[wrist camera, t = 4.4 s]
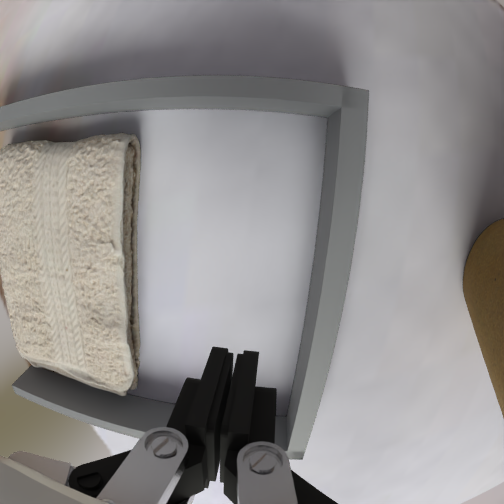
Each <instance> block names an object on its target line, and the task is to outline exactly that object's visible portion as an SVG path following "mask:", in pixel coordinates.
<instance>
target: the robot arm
mask: <svg viewBox="0 0 504 504" xmlns="http://www.w3.org/2000/svg"><path fill="white" fill-rule="evenodd" d="M258 356H259V352H255V351H245V350H244V353H243V354H237V359H236V363H235V368H234V372H233V377H232V371H233V353H229V352H228V348H220V347H212V350H211V353H210V355H209V358H208V361H207V364H206V367H205V369H204V372H203V375H202V378H201V380H200V379H193V378H187V379H186V381H185V383H184V385H183V387H182V390H181V392H180V395H179V397H178V399H177V402H176V404H175V407H174V409H173V411H172V414H171V416H170V419H169V421H168V423H167V426H166V427H158V428H153V429H151V430H149V431H147V432H146V433H145V434H144V435H143V436H142V437H141V438H140V439H139V441H138V442H137V444H136V445H135V446H134V448H133V449H132V450H129V451H126V452H123V453H120V454H117V455H114V456H110V457H107V458H104V459H101V460H97V461H93V462H90V463H86V464H83V465H80V466H78V467H74V466H72V464H71V463H67V462H63V461H58V460H54V459H50V458H46V457H42V456H39V455H35V454H32V453H28V452H23V451H18V452H14V453H13V454H11V455H10V456H9V458H6V457H3V456H0V504H192V502H193V500H194V496H195V494H197V493H199V492H201V491H203V490H204V488H208V486H209V481H216V477H217V472H218V467H219V463H220V482H223V483H224V494H225V495H226V496H227V497H228V498H229V499H230V500H231V501H232V502H233V503H234V504H338V503H336V502H335V501H333V500H332V499H330V498H329V497H327V496H326V495H325V494H323V493H322V492H320V491H319V490H318V489H316V488H315V487H313V486H312V485H311V484H309V483H308V482H307V481H305V480H304V479H303V478H301V477H300V476H299V475H297V474H296V473H295V472H293V471H292V470H291V468H290V463H289V458H288V456H287V453H286V452H285V451H284V450H283V449H282V448H281V447H279V446H278V445H276V444H275V420H276V388H265V387H255V385H256V375H257V366H258Z"/></svg>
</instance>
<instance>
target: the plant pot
mask: <svg viewBox="0 0 504 504" xmlns="http://www.w3.org/2000/svg"><path fill="white" fill-rule="evenodd" d="M463 292H464V297H465V301H466V304H467V307H468V311H469V314H470V317H471V320H472V323H473V327H474V330H475V333H476V336H477V339H478V342H479V345H480V348H481V351H482V354H483V358H484V360H485V363H486V366H487V369H488V372H489V375H490V379H491V381H492V384H493V387H494V390H495V393H496V396H497V399H498V402H499V405H500V408H501V411H502V414H503V417H504V219H501V220H498V221H496V222H494V223H493V224H491V225H490V226H488V227H487V228H486V229H485V230H484V231H483V232H482V233H481V235H480V236H479V237H478V239H477V240H476V242H475V243H474V245H473V247H472V249H471V251H470V253H469V256H468V259H467V261H466V265H465V269H464V276H463Z"/></svg>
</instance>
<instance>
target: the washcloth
mask: <svg viewBox="0 0 504 504" xmlns="http://www.w3.org/2000/svg"><path fill="white" fill-rule="evenodd" d="M140 168H141V150H140V144H139V140H138V139H137V137H136V135H135V134H130V135H128V134H125V133H118V134H109V135H103V134H101V135H99V136H96V135H95V136H92V137H89V138H86V139H80V140H78V141H77V142H57V143H54V142H52V141H47V140H41V141H26V142H22V143H14V144H8V145H7V146H4V147H3V148H2V149H1V151H0V267H1V271H0V273H1V277H2V280H3V283H2V286H3V288H4V295H5V297H6V300H7V308H8V312H9V317H10V319H11V321H10V323H11V328H12V332H13V336H14V339H15V341H16V347H17V349H18V351H19V353H20V355H21V356H22V357H23V358H25V359H27V360H28V361H29V362H30V364H32V365H33V366H34V367H37V368H38V367H44V368H46V369H49V370H53V371H55V372H58V373H60V374H62V375H64V376H67V377H70V378H72V379H75V380H77V381H80V382H82V383H85V384H87V385H89V386H92V387H95V388H98V389H102V390H105V391H109V392H113V393H116V394H118V395H120V396H126V394H127V391H128V389H130V390H134V389H136V388H137V385H138V383H137V381H138V378H137V374H138V372H137V370H138V368H139V364H140V361H139V359H138V357H139V355H140V354H139V348H140V335H139V314H138V279H137V215H138V211H137V210H138V200H139V183H140Z"/></svg>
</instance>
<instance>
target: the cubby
mask: <svg viewBox="0 0 504 504" xmlns="http://www.w3.org/2000/svg"><path fill="white" fill-rule="evenodd" d="M368 101H369V90H364V89H359V88H353V87H348V86H342V85H335V84H329V83H322V82H314V81H306V80H297V79H287V78H275V77H260V76H236V75H193V76H170V77H155V78H143V79H133V80H124V81H116V82H109V83H102V84H96V85H89V86H84V87H78V88H73V89H68V90H63V91H58V92H54V93H49V94H45V95H41V96H37V97H33V98H29V99H26V100H22V101H18V102H15V103H12V104H8V105H5V106H2V107H0V131H3V130H7V129H12V128H16V127H21V126H26V125H31V124H36V123H41V122H47V121H53V120H59V119H65V118H72V117H79V116H87V115H95V114H105V113H115V112H127V111H142V110H162V109H233V110H254V111H269V112H281V113H292V114H301V115H310V116H318V117H326V118H328V121H327V135H326V148H325V160H324V172H323V182H322V192H321V202H320V211H319V220H318V229H317V237H316V245H315V253H314V260H313V268H312V275H311V282H310V289H309V295H308V302H307V308H306V315H305V321H304V327H303V333H302V339H301V344H300V350H299V356H298V361H297V367H296V372H295V377H294V382H293V387H292V392H291V397H290V402H289V407H288V412H287V416H286V417H281V416H276V420H275V444H276V445H278V446H279V447H281V448H282V449H283V450H284V451H285V452H286V453H287V456H288V458H289V459H303V456H304V453H305V450H306V447H307V444H308V441H309V438H310V434H311V431H312V428H313V425H314V422H315V418H316V415H317V411H318V408H319V405H320V401H321V397H322V394H323V390H324V387H325V383H326V379H327V375H328V371H329V367H330V363H331V359H332V355H333V351H334V347H335V343H336V338H337V334H338V329H339V325H340V320H341V315H342V311H343V306H344V301H345V296H346V290H347V285H348V280H349V274H350V268H351V263H352V257H353V250H354V244H355V237H356V231H357V223H358V216H359V208H360V200H361V192H362V183H363V173H364V162H365V151H366V137H367V122H368ZM12 386H13V389H14V391H15V393H16V394H18V395H20V396H22V397H24V398H26V399H28V400H30V401H33V402H35V403H37V404H39V405H42V406H44V407H47V408H49V409H51V410H54V411H56V412H58V413H61V414H64V415H66V416H69V417H72V418H74V419H77V420H80V421H83V422H85V423H88V424H91V425H94V426H97V427H101V428H104V429H107V430H110V431H114V432H117V433H121V434H124V435H128V436H132V437H135V438H139V439H140V438H141V437H142V436H143V435H144V434H145V433H146V432H147V431H149V430H151V429H153V428H158V427H166V426H167V423H168V421H169V419H170V416H171V414H172V411H173V409H174V407H175V404H171V403H166V402H161V401H156V400H151V399H146V398H142V397H137V396H133V395H129V394H126V396H120V395H118V394H116V393H113V392H109V391H105V390H102V389H98V388H95V387H92V386H89V385H87V384H85V383H82V382H80V381H77V380H75V379H72V378H69V377H66V376H63V375H60V374H57V373H54V372H51V371H48V370H45V369H43V368H40V367H38V368H37V367H34V366H33V365H31V366H30V367H29V368H28V369H27V370H26V371H25V372H24V373H23V374H22V375H21V376H20V377H19V378H18V379H17V380H16V381H15V382H14V383H13V384H12Z"/></svg>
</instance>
